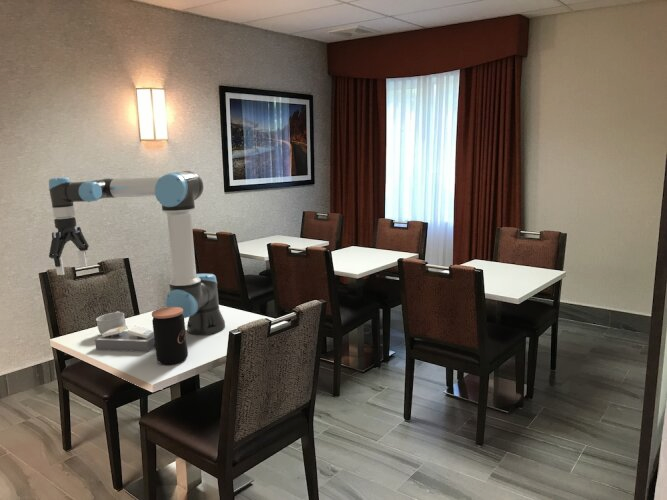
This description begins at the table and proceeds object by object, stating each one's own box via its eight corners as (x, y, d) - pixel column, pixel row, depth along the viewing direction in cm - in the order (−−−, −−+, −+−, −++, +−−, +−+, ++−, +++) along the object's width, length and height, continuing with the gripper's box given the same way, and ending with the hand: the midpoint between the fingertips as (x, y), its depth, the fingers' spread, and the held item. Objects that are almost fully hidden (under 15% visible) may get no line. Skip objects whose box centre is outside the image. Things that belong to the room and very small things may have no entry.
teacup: (116, 339, 216) (114, 320, 215) (92, 338, 219) (90, 319, 217) (136, 327, 230) (133, 309, 228) (113, 327, 232) (110, 309, 230)
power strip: (171, 342, 210) (170, 330, 209) (158, 352, 201) (157, 339, 200) (111, 340, 216) (110, 328, 215) (96, 349, 206) (94, 337, 205)
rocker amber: (128, 328, 210) (126, 324, 210) (120, 332, 205) (119, 329, 205) (110, 332, 212) (109, 329, 212) (102, 337, 207) (101, 333, 207)
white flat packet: (153, 333, 208) (154, 330, 208) (146, 338, 203) (147, 335, 203) (134, 328, 209) (135, 325, 209) (127, 333, 205) (127, 329, 204)
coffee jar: (185, 364, 188) (180, 314, 185) (153, 367, 187) (147, 317, 184) (190, 352, 199) (185, 305, 195) (161, 355, 198) (155, 307, 194)
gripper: (77, 213, 225) (84, 263, 229) (32, 222, 201) (41, 278, 205) (93, 212, 223) (100, 263, 227) (50, 222, 199) (59, 278, 203)
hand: (72, 270), depth 216 cm, fingers open, 13 cm apart
